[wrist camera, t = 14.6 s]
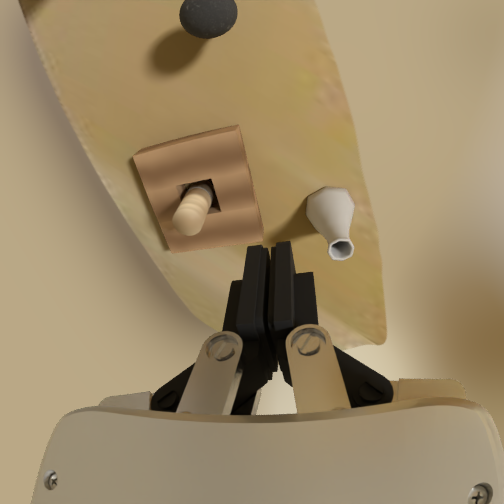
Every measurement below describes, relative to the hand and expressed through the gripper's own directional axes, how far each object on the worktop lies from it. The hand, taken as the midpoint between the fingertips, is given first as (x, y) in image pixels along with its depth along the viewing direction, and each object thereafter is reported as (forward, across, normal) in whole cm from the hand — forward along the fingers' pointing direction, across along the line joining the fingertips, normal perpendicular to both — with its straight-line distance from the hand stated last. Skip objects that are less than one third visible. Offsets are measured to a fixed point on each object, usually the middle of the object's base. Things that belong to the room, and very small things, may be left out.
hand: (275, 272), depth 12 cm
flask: (+29, -5, +14) cm, 33 cm away
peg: (+29, +12, +8) cm, 32 cm away
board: (+29, +12, +8) cm, 32 cm away
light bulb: (+29, +4, -14) cm, 33 cm away
